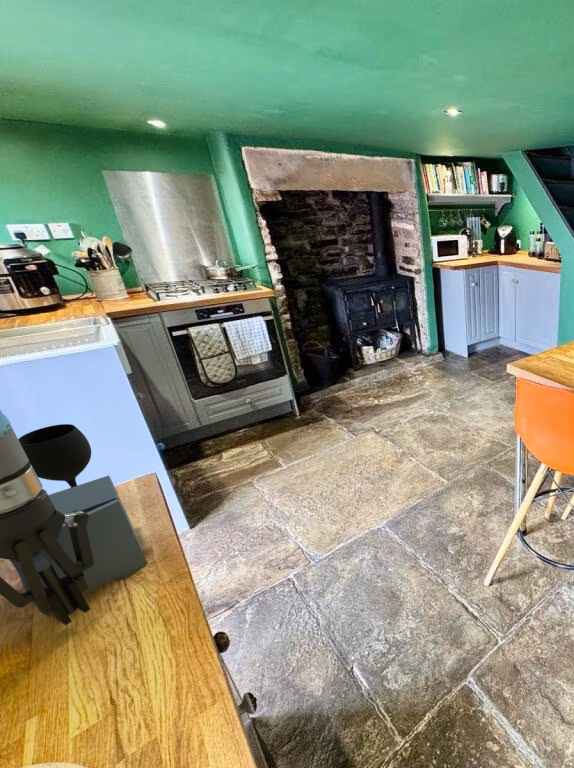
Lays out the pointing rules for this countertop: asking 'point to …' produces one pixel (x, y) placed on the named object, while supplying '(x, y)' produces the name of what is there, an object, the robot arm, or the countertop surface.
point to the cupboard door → (94, 553)
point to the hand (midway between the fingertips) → (73, 614)
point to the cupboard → (88, 497)
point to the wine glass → (57, 452)
